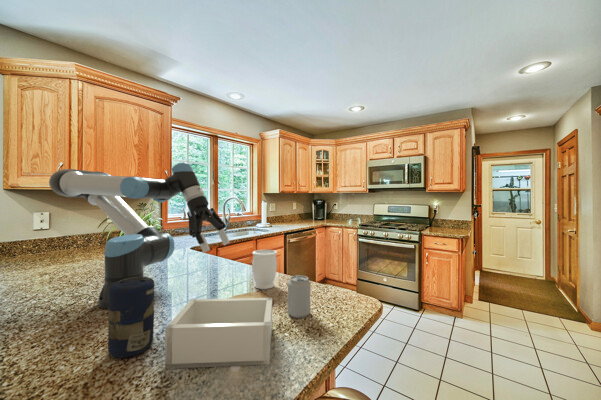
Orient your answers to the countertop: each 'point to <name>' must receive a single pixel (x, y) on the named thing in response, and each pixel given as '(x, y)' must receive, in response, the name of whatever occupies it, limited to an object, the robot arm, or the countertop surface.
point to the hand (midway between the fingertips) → (217, 247)
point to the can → (299, 296)
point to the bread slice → (251, 296)
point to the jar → (264, 268)
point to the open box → (220, 333)
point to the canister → (130, 316)
